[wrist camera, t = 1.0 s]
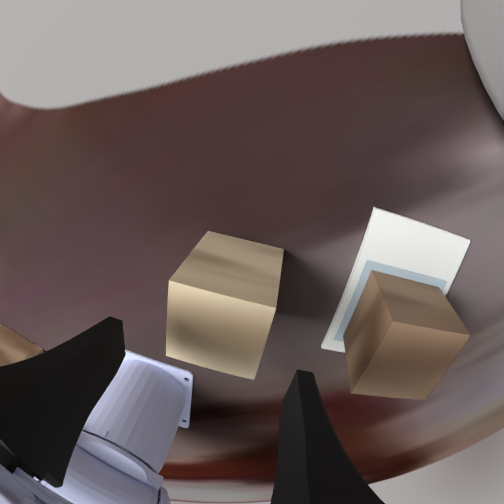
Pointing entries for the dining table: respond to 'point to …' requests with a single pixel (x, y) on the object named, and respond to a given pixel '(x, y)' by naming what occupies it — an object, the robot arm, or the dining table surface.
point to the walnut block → (401, 338)
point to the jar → (486, 44)
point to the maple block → (223, 304)
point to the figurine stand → (15, 347)
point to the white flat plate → (397, 262)
